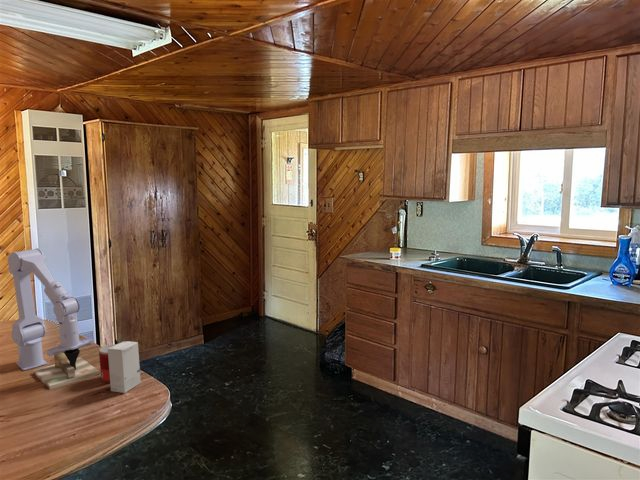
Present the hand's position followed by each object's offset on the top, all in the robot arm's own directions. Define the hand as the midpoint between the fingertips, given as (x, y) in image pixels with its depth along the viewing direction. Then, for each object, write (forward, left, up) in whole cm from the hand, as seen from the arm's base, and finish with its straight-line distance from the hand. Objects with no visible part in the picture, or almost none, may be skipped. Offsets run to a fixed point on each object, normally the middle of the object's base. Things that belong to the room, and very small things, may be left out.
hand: (73, 369), depth 164 cm
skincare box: (+22, +9, -3) cm, 24 cm away
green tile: (+1, -5, -1) cm, 6 cm away
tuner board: (-4, -1, -3) cm, 5 cm away
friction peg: (-4, -1, -1) cm, 4 cm away
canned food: (+12, +9, -3) cm, 15 cm away
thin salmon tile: (+1, +3, -1) cm, 4 cm away
